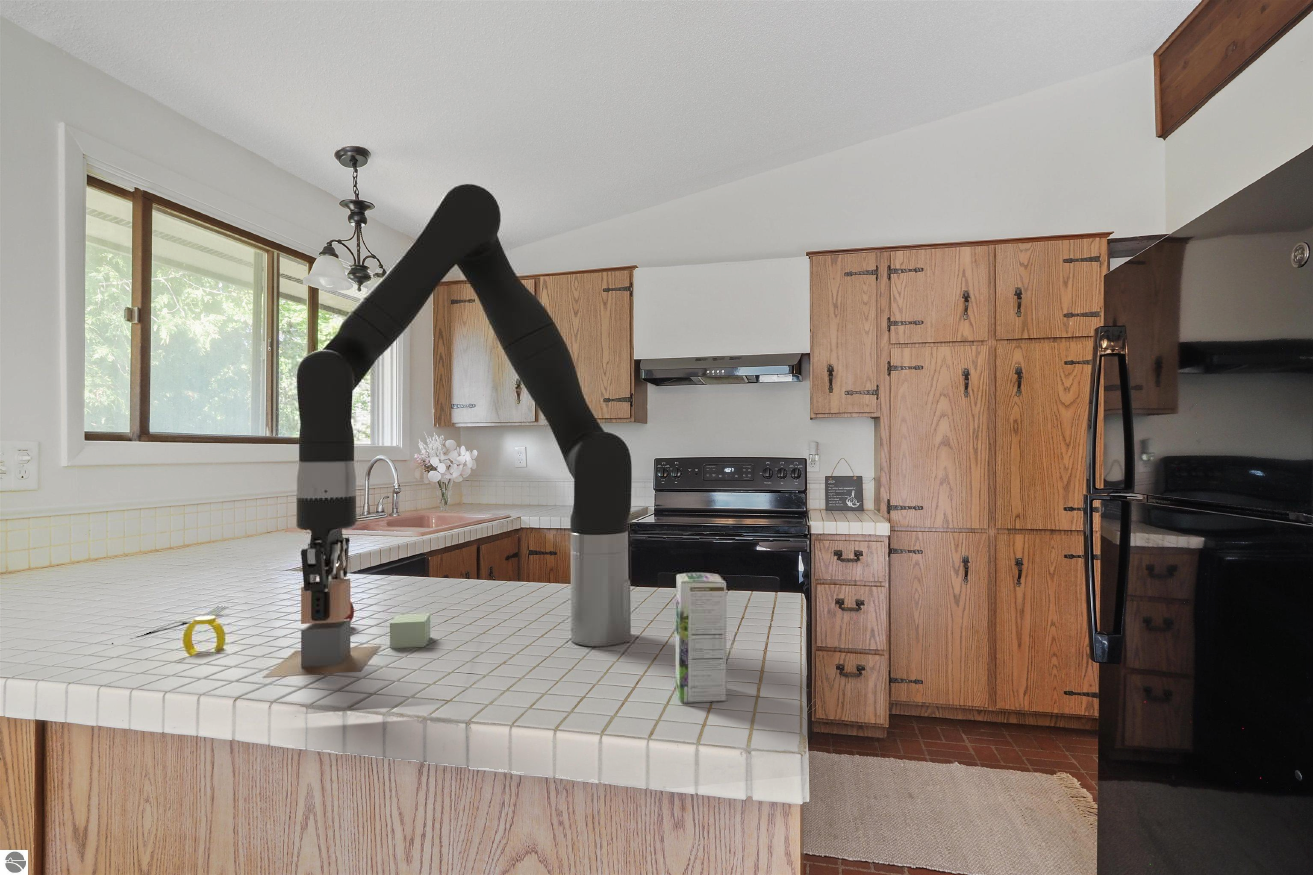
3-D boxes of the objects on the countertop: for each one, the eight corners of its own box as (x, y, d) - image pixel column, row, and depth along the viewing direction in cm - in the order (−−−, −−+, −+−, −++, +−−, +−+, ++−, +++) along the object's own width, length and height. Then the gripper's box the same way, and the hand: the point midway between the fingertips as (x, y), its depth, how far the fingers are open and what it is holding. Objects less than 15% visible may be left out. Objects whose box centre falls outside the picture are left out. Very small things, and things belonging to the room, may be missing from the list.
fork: (81, 651, 105) (81, 639, 105) (217, 614, 128) (217, 605, 128) (97, 652, 104) (97, 640, 104) (230, 615, 128) (230, 605, 128)
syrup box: (674, 687, 85) (673, 572, 86) (720, 685, 86) (719, 571, 86) (679, 703, 79) (678, 581, 80) (729, 701, 80) (727, 580, 80)
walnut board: (381, 653, 101) (381, 645, 101) (360, 680, 89) (360, 671, 89) (295, 658, 99) (295, 650, 99) (262, 686, 87) (262, 677, 87)
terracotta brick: (350, 613, 97) (350, 578, 97) (340, 621, 92) (340, 585, 92) (313, 615, 96) (313, 580, 96) (301, 623, 91) (301, 586, 91)
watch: (228, 656, 101) (231, 617, 101) (213, 662, 98) (216, 621, 98) (192, 652, 102) (195, 613, 102) (177, 658, 99) (180, 617, 99)
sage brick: (430, 645, 105) (430, 613, 105) (424, 654, 100) (424, 621, 100) (396, 647, 104) (396, 614, 104) (389, 656, 99) (389, 622, 100)
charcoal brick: (350, 653, 97) (350, 619, 97) (340, 664, 92) (340, 627, 92) (313, 656, 96) (313, 620, 96) (301, 666, 91) (301, 629, 91)
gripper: (340, 496, 88) (340, 627, 87) (367, 490, 102) (368, 602, 102) (278, 497, 87) (278, 630, 86) (315, 491, 101) (314, 605, 100)
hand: (326, 614), depth 94 cm, fingers closed on terracotta brick, 5 cm apart
